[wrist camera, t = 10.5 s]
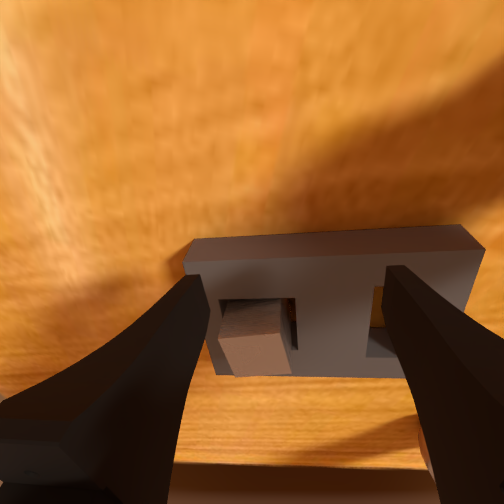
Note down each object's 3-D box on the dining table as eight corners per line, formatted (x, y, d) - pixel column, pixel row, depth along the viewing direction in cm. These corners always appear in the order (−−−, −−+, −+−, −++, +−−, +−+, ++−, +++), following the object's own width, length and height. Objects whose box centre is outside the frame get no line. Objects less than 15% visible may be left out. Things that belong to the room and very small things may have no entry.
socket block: (460, 224, 19) (485, 249, 17) (425, 347, 26) (440, 378, 23) (194, 238, 22) (182, 262, 20) (222, 347, 29) (216, 374, 26)
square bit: (281, 273, 23) (279, 333, 18) (291, 310, 25) (291, 373, 20) (232, 280, 24) (217, 339, 19) (245, 315, 26) (235, 377, 21)
